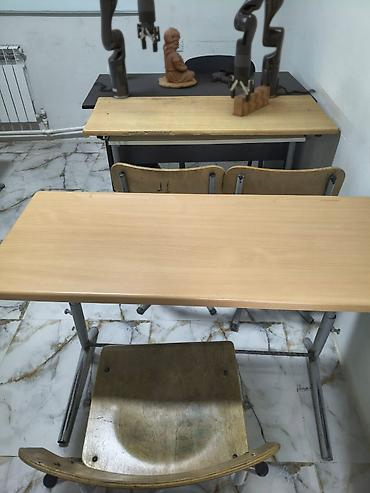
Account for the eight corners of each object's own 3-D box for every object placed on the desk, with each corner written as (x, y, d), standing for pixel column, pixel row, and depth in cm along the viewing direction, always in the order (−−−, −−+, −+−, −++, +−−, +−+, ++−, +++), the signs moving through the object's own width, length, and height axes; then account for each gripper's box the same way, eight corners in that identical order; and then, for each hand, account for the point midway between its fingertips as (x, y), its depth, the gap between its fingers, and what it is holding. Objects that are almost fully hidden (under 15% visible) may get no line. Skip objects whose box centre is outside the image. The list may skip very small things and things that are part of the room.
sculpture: (197, 88, 213) (196, 30, 194) (156, 89, 214) (152, 31, 194) (196, 75, 234) (196, 22, 215) (159, 76, 235) (156, 23, 215)
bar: (260, 101, 193) (262, 85, 187) (268, 103, 190) (270, 87, 185) (233, 114, 180) (234, 96, 174) (241, 116, 177) (242, 98, 172)
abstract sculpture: (216, 68, 212) (209, 60, 227) (216, 84, 218) (208, 75, 233) (257, 65, 215) (247, 57, 230) (255, 81, 221) (245, 73, 236)
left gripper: (163, 9, 154) (165, 51, 164) (143, 7, 162) (147, 47, 173) (149, 11, 150) (152, 54, 161) (130, 9, 159) (134, 49, 169)
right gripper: (225, 63, 167) (223, 99, 177) (250, 68, 159) (247, 105, 169) (235, 60, 171) (233, 95, 181) (260, 64, 163) (256, 101, 173)
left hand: (149, 50), depth 167 cm, fingers open, 8 cm apart
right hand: (240, 100), depth 175 cm, fingers open, 8 cm apart
